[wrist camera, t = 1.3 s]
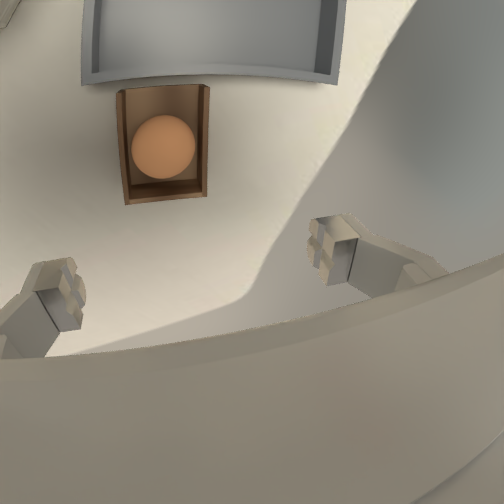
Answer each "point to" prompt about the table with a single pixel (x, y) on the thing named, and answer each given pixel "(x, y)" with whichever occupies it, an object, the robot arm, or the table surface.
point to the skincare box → (7, 11)
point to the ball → (163, 146)
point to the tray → (212, 38)
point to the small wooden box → (155, 104)
